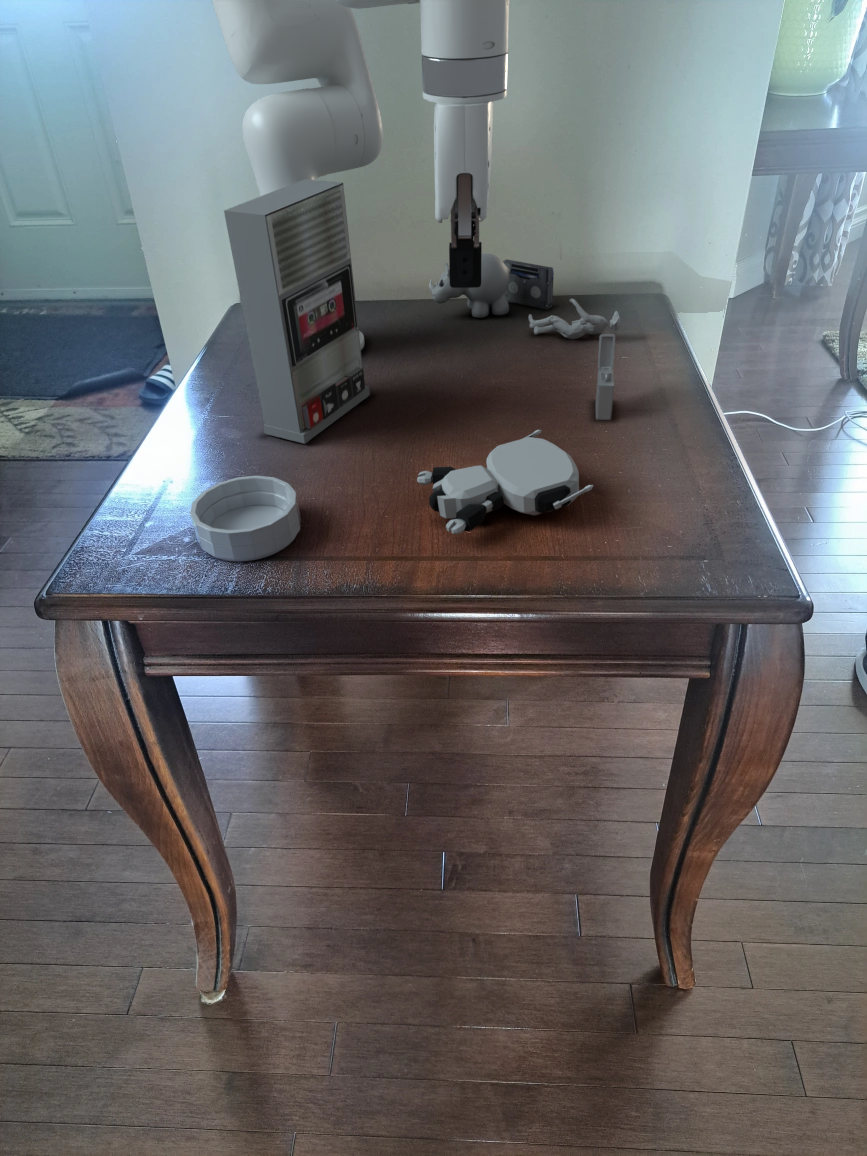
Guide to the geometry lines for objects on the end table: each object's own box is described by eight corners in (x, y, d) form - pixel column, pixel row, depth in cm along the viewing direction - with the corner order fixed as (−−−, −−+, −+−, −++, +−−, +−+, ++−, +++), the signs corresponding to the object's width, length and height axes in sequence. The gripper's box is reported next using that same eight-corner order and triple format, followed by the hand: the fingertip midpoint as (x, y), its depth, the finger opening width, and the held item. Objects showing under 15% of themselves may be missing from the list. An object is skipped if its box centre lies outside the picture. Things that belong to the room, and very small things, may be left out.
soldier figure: (538, 331, 121) (620, 307, 117) (543, 362, 120) (626, 339, 116) (524, 308, 114) (610, 282, 110) (529, 341, 113) (616, 315, 109)
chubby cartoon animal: (427, 308, 128) (424, 252, 123) (504, 301, 129) (504, 245, 124) (433, 325, 122) (430, 267, 117) (513, 318, 123) (514, 259, 118)
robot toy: (453, 561, 78) (598, 517, 80) (447, 522, 75) (598, 478, 77) (414, 496, 87) (546, 459, 90) (408, 459, 84) (544, 422, 87)
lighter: (611, 419, 97) (617, 354, 92) (595, 419, 97) (601, 354, 92) (609, 393, 102) (615, 330, 97) (595, 392, 102) (600, 329, 97)
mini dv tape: (552, 306, 126) (553, 266, 122) (546, 309, 125) (548, 269, 121) (507, 297, 130) (507, 258, 127) (502, 300, 129) (502, 260, 126)
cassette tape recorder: (307, 446, 95) (270, 216, 80) (265, 435, 97) (221, 210, 82) (371, 397, 104) (350, 183, 89) (332, 388, 107) (304, 179, 91)
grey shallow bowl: (177, 539, 81) (169, 509, 79) (254, 494, 87) (248, 465, 85) (245, 576, 76) (237, 545, 74) (322, 525, 82) (317, 495, 80)
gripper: (426, 65, 79) (431, 260, 91) (417, 94, 68) (425, 313, 79) (504, 63, 79) (500, 259, 90) (510, 92, 67) (504, 312, 79)
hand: (465, 284), depth 85 cm, fingers closed
